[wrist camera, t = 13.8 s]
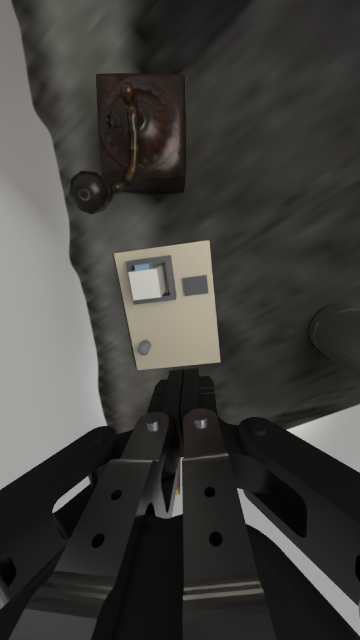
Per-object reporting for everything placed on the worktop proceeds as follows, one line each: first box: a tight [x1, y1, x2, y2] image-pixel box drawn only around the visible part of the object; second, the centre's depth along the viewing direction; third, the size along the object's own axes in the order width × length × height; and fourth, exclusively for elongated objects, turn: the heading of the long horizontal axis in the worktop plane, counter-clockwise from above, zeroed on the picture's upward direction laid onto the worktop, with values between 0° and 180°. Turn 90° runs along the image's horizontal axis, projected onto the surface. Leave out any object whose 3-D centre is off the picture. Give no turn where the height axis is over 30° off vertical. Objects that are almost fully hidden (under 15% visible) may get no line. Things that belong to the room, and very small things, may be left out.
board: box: [114, 240, 220, 370], centre depth 42 cm, size 16×22×4 cm
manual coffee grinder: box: [69, 73, 186, 214], centre depth 29 cm, size 16×11×18 cm
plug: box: [128, 262, 167, 300], centre depth 37 cm, size 4×5×8 cm
